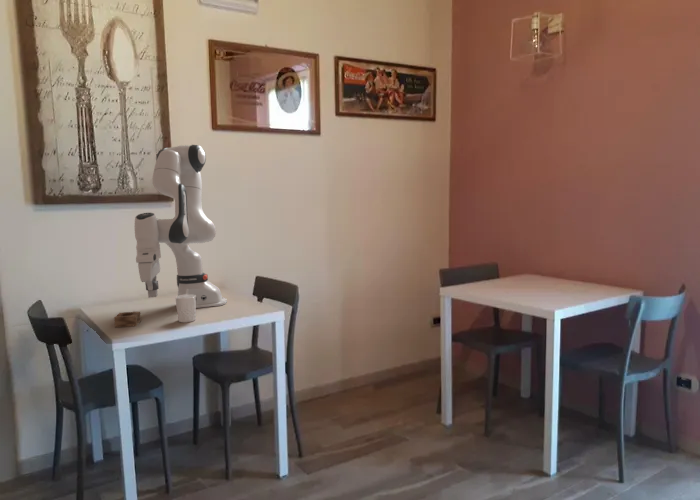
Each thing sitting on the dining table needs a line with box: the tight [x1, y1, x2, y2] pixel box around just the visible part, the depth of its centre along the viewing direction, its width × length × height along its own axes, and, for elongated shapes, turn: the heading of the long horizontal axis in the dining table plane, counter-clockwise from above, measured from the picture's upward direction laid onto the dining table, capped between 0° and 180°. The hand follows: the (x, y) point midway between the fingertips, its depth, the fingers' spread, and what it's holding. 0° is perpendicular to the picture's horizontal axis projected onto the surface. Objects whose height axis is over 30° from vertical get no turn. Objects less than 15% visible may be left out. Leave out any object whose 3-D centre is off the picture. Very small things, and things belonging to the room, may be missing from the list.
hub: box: [113, 311, 142, 328], centre depth 227 cm, size 8×8×4 cm
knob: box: [144, 279, 160, 298], centre depth 227 cm, size 5×5×6 cm
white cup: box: [175, 294, 197, 323], centre depth 229 cm, size 8×8×10 cm
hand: (152, 288), depth 227 cm, fingers closed on knob, 5 cm apart
